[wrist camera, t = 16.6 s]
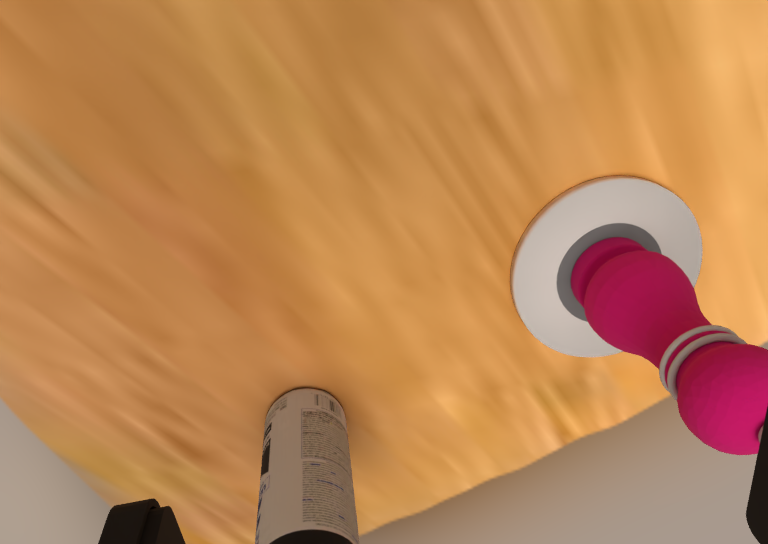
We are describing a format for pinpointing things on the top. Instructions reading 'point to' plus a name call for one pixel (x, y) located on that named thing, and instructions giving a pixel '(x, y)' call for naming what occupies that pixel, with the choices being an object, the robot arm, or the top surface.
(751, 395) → the pepper mill
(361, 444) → the top surface
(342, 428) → the spray can
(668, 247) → the mount plate
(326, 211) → the top surface
